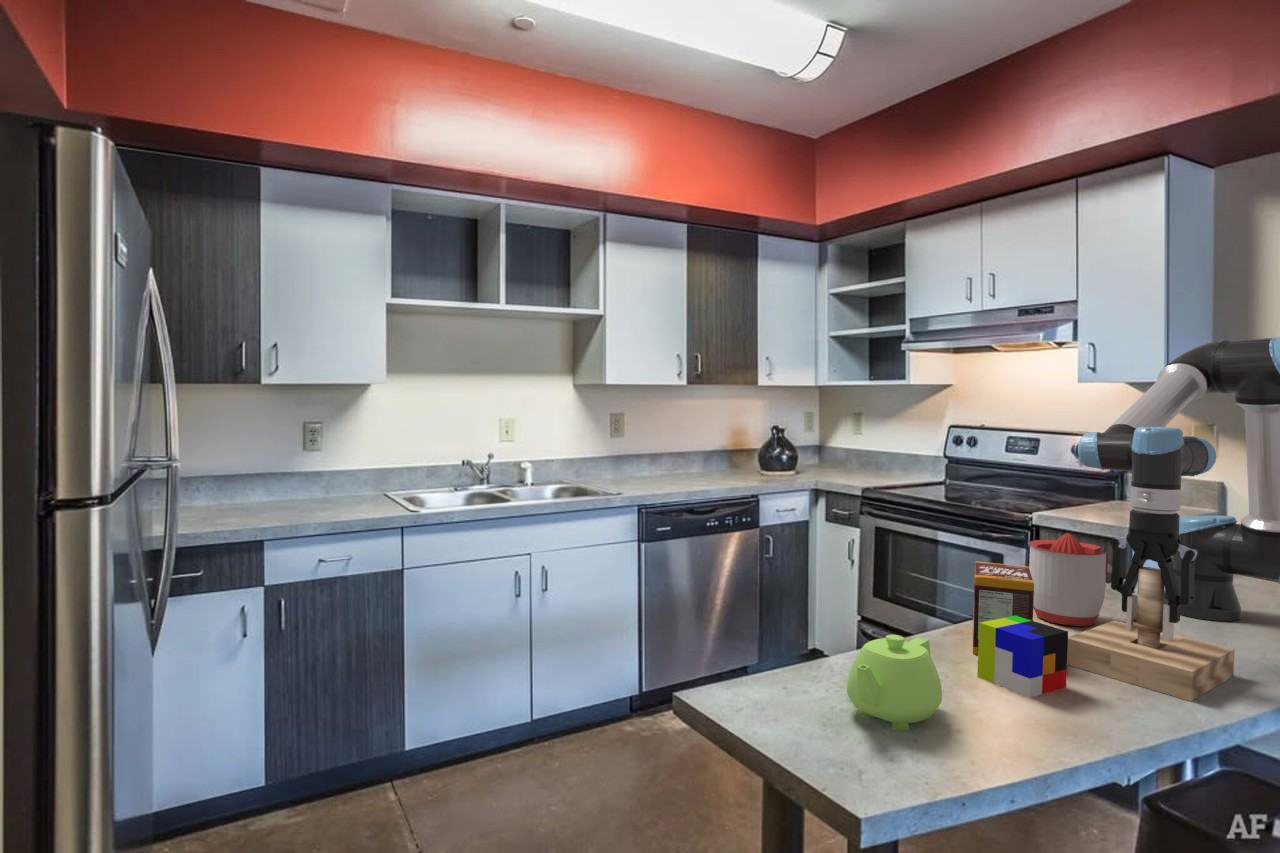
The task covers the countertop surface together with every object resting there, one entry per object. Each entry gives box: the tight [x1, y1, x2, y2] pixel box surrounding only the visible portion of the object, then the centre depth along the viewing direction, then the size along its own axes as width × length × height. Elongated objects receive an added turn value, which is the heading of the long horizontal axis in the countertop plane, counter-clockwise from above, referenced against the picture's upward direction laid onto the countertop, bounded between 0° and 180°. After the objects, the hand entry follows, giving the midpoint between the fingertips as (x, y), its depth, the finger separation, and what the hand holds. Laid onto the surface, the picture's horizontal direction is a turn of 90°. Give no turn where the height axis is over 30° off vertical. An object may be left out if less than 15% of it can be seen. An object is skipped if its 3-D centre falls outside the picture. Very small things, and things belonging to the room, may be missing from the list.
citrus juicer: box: [1028, 532, 1112, 628], centre depth 164 cm, size 16×17×20 cm
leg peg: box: [1132, 566, 1165, 649], centre depth 134 cm, size 5×5×16 cm
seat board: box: [1067, 620, 1236, 702], centre depth 134 cm, size 20×20×5 cm
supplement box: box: [972, 560, 1034, 656], centre depth 146 cm, size 10×15×16 cm
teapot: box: [846, 634, 943, 733], centre depth 113 cm, size 20×13×13 cm
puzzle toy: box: [976, 616, 1069, 699], centre depth 128 cm, size 10×10×10 cm
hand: (1149, 634), depth 134 cm, fingers closed on leg peg, 5 cm apart
